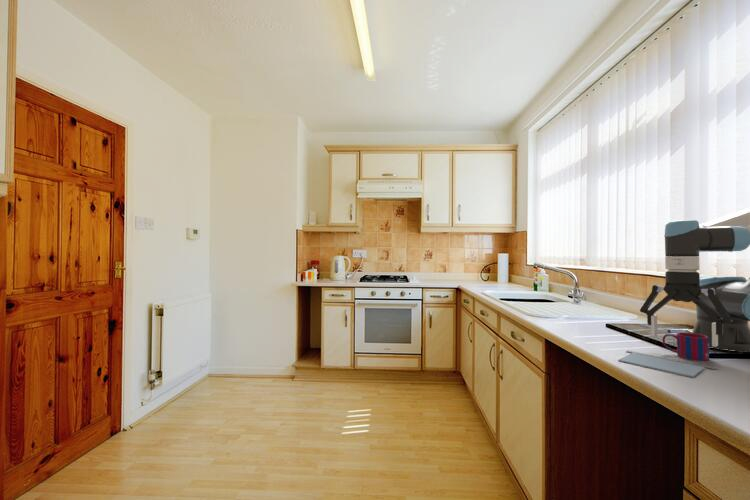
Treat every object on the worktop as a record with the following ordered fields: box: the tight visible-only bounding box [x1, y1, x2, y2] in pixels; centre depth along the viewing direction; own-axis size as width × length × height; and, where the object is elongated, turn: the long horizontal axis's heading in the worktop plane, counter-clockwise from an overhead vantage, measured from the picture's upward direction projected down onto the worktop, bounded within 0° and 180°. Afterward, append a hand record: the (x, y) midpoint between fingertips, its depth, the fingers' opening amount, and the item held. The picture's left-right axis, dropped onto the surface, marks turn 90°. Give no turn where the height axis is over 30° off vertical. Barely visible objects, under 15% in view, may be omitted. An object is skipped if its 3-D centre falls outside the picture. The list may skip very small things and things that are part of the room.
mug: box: [662, 332, 710, 362], centre depth 97 cm, size 7×10×7 cm
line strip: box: [625, 349, 719, 371], centre depth 94 cm, size 2×20×1 cm, turn 33°
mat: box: [617, 353, 706, 379], centre depth 90 cm, size 11×16×1 cm
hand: (683, 340), depth 97 cm, fingers open, 13 cm apart
